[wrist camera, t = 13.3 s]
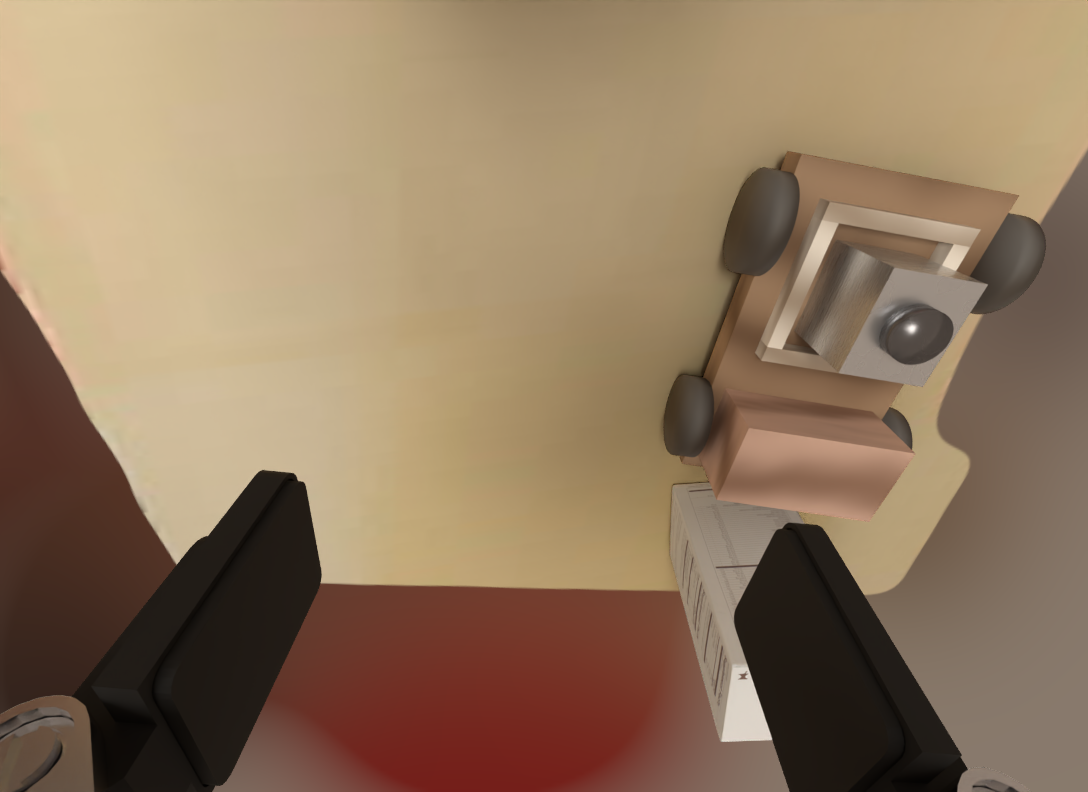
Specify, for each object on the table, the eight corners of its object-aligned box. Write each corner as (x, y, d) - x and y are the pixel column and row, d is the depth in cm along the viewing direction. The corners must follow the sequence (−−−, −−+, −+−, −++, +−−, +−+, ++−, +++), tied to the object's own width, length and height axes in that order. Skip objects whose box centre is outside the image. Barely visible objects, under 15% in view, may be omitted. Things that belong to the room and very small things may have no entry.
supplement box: (667, 554, 49) (713, 745, 34) (670, 482, 44) (725, 667, 30) (767, 549, 48) (858, 742, 34) (780, 475, 43) (892, 662, 29)
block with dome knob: (836, 239, 30) (906, 273, 24) (914, 253, 30) (1003, 290, 24) (794, 330, 33) (847, 381, 27) (865, 342, 33) (934, 395, 27)
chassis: (754, 144, 30) (816, 157, 23) (996, 190, 31) (1130, 217, 24) (655, 434, 42) (676, 505, 34) (837, 462, 42) (895, 536, 35)
